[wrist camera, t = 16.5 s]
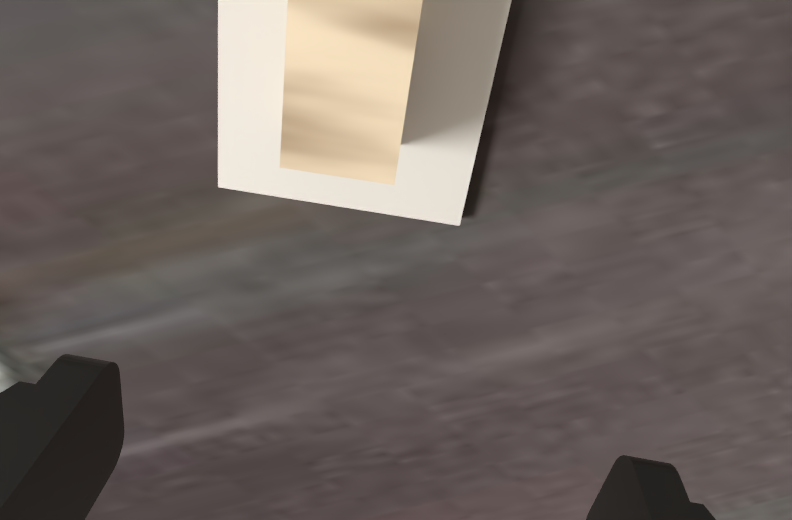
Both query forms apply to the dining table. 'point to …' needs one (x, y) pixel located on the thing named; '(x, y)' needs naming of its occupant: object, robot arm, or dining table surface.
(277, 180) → the mat
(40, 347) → the dining table surface
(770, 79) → the dining table surface
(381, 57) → the maple block
